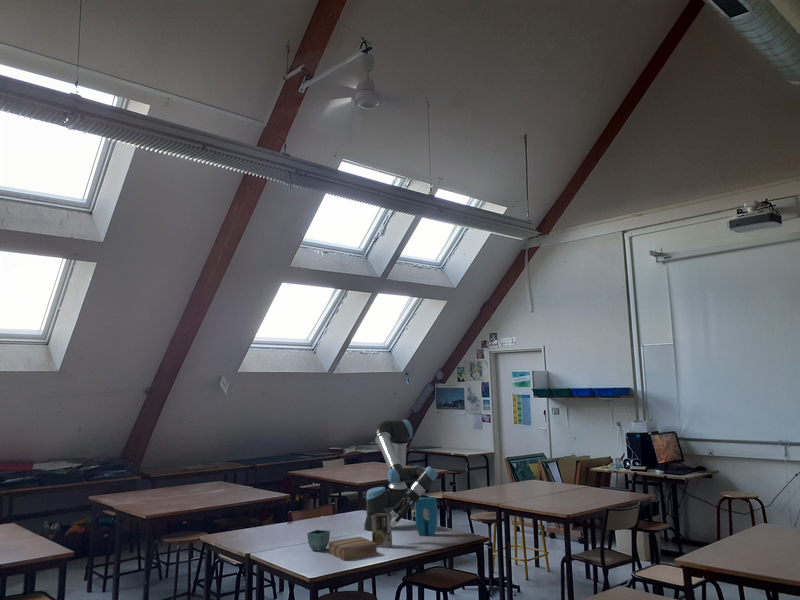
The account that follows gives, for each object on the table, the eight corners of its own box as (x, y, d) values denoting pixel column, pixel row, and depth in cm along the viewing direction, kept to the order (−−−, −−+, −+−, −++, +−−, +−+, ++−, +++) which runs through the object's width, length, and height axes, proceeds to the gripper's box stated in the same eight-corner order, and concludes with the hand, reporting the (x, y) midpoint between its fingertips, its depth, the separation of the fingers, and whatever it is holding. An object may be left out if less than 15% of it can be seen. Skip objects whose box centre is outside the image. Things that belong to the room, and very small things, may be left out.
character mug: (431, 528, 350) (430, 505, 352) (430, 531, 343) (429, 507, 345) (412, 529, 351) (412, 506, 353) (412, 531, 344) (411, 508, 346)
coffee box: (392, 545, 312) (391, 513, 315) (388, 548, 306) (387, 515, 309) (376, 544, 315) (375, 512, 318) (371, 547, 309) (371, 514, 312)
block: (437, 533, 335) (435, 497, 339) (437, 535, 330) (435, 498, 334) (416, 534, 336) (415, 497, 340) (416, 536, 331) (414, 499, 335)
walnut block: (328, 554, 299) (328, 541, 300) (360, 548, 308) (360, 536, 309) (343, 561, 284) (343, 548, 285) (376, 555, 293) (376, 542, 294)
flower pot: (320, 552, 301) (320, 534, 302) (306, 551, 305) (306, 532, 307) (330, 548, 308) (330, 530, 310) (317, 547, 313) (317, 529, 314)
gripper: (426, 500, 306) (398, 533, 300) (415, 493, 330) (389, 524, 324) (415, 490, 306) (388, 523, 300) (405, 484, 330) (379, 515, 324)
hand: (388, 523), depth 312 cm, fingers open, 13 cm apart
